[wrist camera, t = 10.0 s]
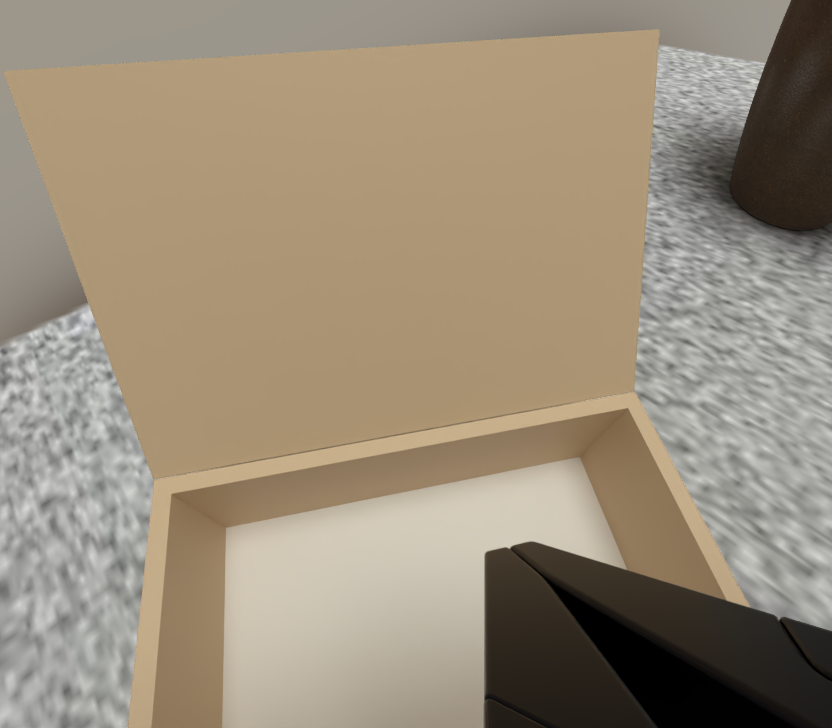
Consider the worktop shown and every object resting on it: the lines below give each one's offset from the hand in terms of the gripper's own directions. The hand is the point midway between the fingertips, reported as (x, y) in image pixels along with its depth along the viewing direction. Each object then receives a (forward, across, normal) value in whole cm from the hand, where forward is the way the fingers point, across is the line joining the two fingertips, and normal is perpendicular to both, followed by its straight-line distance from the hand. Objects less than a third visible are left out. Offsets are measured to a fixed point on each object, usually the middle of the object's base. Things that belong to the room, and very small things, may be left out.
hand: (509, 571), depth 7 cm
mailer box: (+9, 0, -9) cm, 13 cm away
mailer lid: (+8, 0, +5) cm, 10 cm away
